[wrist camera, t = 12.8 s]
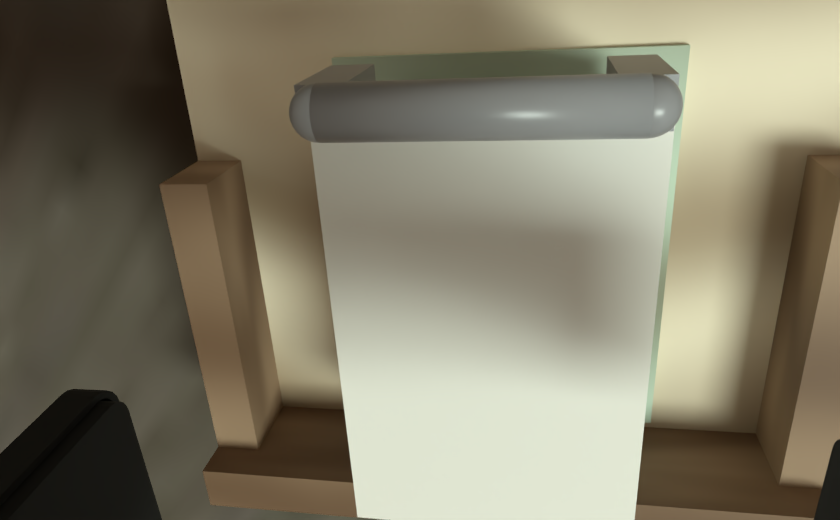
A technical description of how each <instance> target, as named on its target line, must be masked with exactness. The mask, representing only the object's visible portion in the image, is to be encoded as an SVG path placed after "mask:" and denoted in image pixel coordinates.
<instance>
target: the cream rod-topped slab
mask: <svg viewBox="0 0 840 520" xmlns="http://www.w3.org/2000/svg"><path fill="white" fill-rule="evenodd" d="M679 76H680V74H679V73H678V72H677V71H676V70H675V69H673V68H672V67H671V66H670V65H669V64H668V63H667V62H665V61H664V60H663V59H662V58H661V57H660V56H659V55H657V54H653V55H623V56H607V68H606V74H587V75H553V76H519V77H485V78H451V79H417V80H383V81H376V78H375V66H374V64H358V65H331V66H329V67H327V68H325V69H323V70H321V71H320V72H318V73H316V74H314V75H312V76H310V77H308V78H306V79H305V80H303V81H301V82H299V83H297V84H295V85H294V91H295V94H294V96H293V98H292V99H291V102H290V106H289V118H290V121H291V124H292V126H293V128H294V129H295V131H296V132H297V133H298V134H299V135H300V137H303V138H304V139H306V140H308V141H311V148H312V156H313V164H314V172H315V180H316V188H317V196H318V204H319V212H320V220H321V228H322V236H323V244H324V252H325V260H326V268H327V276H328V284H329V292H330V300H331V308H332V316H333V324H334V332H335V340H336V348H337V356H338V365H339V373H340V381H341V389H342V397H343V405H344V413H345V421H346V429H347V437H348V445H349V453H350V461H351V469H352V477H353V485H354V493H355V501H356V509H357V517H361V518H373V519H384V520H635V511H636V501H637V491H638V481H639V472H640V462H641V452H642V442H643V433H644V423H645V413H646V403H647V394H648V384H649V374H650V364H651V354H652V345H653V335H654V325H655V315H656V306H657V296H658V286H659V276H660V267H661V257H662V247H663V237H664V228H665V218H666V208H667V198H668V189H669V179H670V169H671V159H672V150H673V140H674V130H675V125H676V123H677V122H678V120H679V118H680V116H681V113H682V110H683V97H682V93H681V91H680V89H679V87H678V86H679Z"/></svg>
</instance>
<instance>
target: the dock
mask: <svg viewBox="0 0 840 520" xmlns="http://www.w3.org/2000/svg"><path fill="white" fill-rule="evenodd" d="M166 1H167V6H168V11H169V16H170V21H171V26H172V31H173V36H174V41H175V46H176V51H177V56H178V61H179V66H180V72H181V77H182V82H183V87H184V92H185V97H186V102H187V107H188V112H189V117H190V122H191V127H192V132H193V137H194V142H195V147H196V152H197V157H198V161H197V162H196V163H194V164H192V165H191V166H189V167H187V168H186V169H184V170H182V171H181V172H179V173H178V174H176V175H174V176H173V177H171V178H169V179H168V180H166V181H164V182H163V183H161V184H159V186H160V190H161V195H162V199H163V204H164V208H165V212H166V217H167V221H168V226H169V230H170V234H171V239H172V243H173V248H174V252H175V257H176V261H177V265H178V270H179V274H180V279H181V283H182V287H183V292H184V296H185V301H186V305H187V309H188V314H189V318H190V323H191V327H192V331H193V336H194V340H195V345H196V349H197V354H198V358H199V362H200V367H201V371H202V376H203V380H204V384H205V389H206V393H207V398H208V402H209V406H210V411H211V415H212V420H213V424H214V428H215V433H216V437H217V442H218V446H219V447H218V448H217V450H216V452H215V453H214V455H213V456H212V458H211V459H210V461H209V462H208V464H207V465H206V467H205V468H204V470H203V475H204V479H205V483H206V487H207V491H208V495H209V500H210V504H211V505H219V506H230V507H242V508H253V509H265V510H277V511H288V512H300V513H311V514H323V515H335V516H346V517H357V509H356V501H355V493H354V485H353V477H352V469H351V461H350V453H349V445H348V437H347V429H346V421H345V413H344V405H343V397H342V389H341V381H340V373H339V365H338V356H337V348H336V340H335V332H334V324H333V316H332V308H331V300H330V292H329V284H328V276H327V268H326V260H325V252H324V244H323V236H322V228H321V220H320V212H319V204H318V196H317V188H316V180H315V172H314V164H313V156H312V148H311V141H308V140H306V139H304V138H303V137H300V135H299V134H298V133H297V132H296V131H295V129H294V128H293V126H292V124H291V121H290V118H289V106H290V102H291V99H292V98H293V96H294V94H295V91H294V85H295V84H297V83H299V82H301V81H303V80H305V79H306V78H308V77H310V76H312V75H314V74H316V73H318V72H320V71H321V70H323V69H325V68H327V67H329V66H331V65H358V64H374V66H375V78H376V81H383V80H417V79H451V78H485V77H519V76H553V75H587V74H606V68H607V56H623V55H653V54H657V55H659V56H660V57H661V58H662V59H663V60H664V61H665V62H667V63H668V64H669V65H670V66H671V67H672V68H673V69H675V70H676V71H677V72H678V73H679V74H680V76H679V86H678V87H679V89H680V91H681V93H682V97H683V110H682V113H681V116H680V118H679V120H678V122H677V123H676V125H675V130H674V140H673V150H672V159H671V169H670V179H669V189H668V198H667V208H666V218H665V228H664V237H663V247H662V257H661V267H660V276H659V286H658V296H657V306H656V315H655V325H654V335H653V345H652V354H651V364H650V374H649V384H648V394H647V403H646V413H645V423H644V433H643V442H642V452H641V462H640V472H639V481H638V491H637V501H636V511H635V520H814V517H815V513H816V509H817V505H818V501H819V497H820V494H821V490H822V486H823V482H824V478H825V474H826V471H827V467H828V463H829V459H830V455H831V451H832V448H833V445H834V443H835V442H836V441H837V440H839V439H840V0H166ZM358 518H361V517H358ZM370 519H373V518H370ZM381 520H384V519H381Z"/></svg>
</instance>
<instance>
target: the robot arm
mask: <svg viewBox="0 0 840 520" xmlns="http://www.w3.org/2000/svg"><path fill="white" fill-rule="evenodd" d="M0 520H162V518H161V515H160V512H159V508H158V505H157V502H156V499H155V495H154V492H153V489H152V485H151V482H150V479H149V476H148V472H147V469H146V466H145V462H144V459H143V456H142V453H141V449H140V446H139V443H138V440H137V436H136V433H135V430H134V426H133V423H132V420H131V417H130V413H129V410H128V408H127V406H126V405H125V404H124V403H123V402H119V400H118V397H117V396H116V395H115V394H114V393H113V392H110V391H104V390H83V389H72V390H68V391H66V392H65V393H63V394H62V395H61V396H60V397H59V398H58V399H57V400H56V401H55V402H54V403H52V404H51V405H50V406H49V407H48V408H47V409H46V410H45V411H44V412H43V413H42V414H41V415H40V416H39V417H38V418H37V419H36V420H35V421H34V422H33V423H32V424H31V425H30V426H29V427H28V428H27V429H25V430H24V431H23V432H22V433H21V434H20V435H19V436H18V437H17V438H16V439H15V440H14V441H13V442H12V443H11V444H10V445H9V446H8V447H7V448H6V449H5V450H4V451H3V452H2V453H1V454H0ZM814 520H840V439H839V440H837V441H836V442H835V443H834V445H833V448H832V451H831V455H830V459H829V463H828V467H827V471H826V474H825V478H824V482H823V486H822V490H821V494H820V497H819V501H818V505H817V509H816V513H815V517H814Z"/></svg>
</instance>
